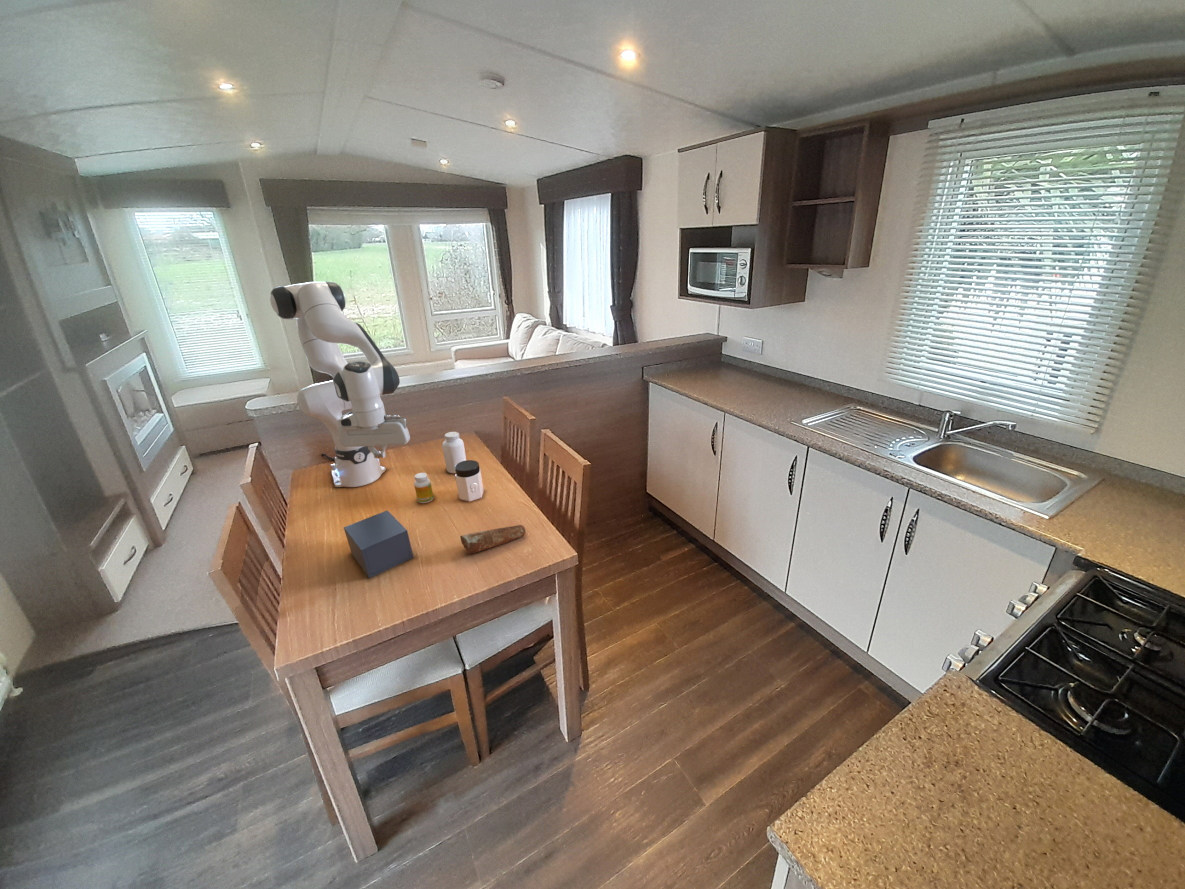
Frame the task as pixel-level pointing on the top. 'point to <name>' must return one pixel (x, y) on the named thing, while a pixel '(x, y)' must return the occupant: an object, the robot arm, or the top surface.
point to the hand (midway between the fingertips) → (380, 457)
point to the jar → (469, 480)
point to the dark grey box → (378, 543)
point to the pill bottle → (453, 451)
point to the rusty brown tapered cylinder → (491, 538)
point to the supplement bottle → (423, 488)
